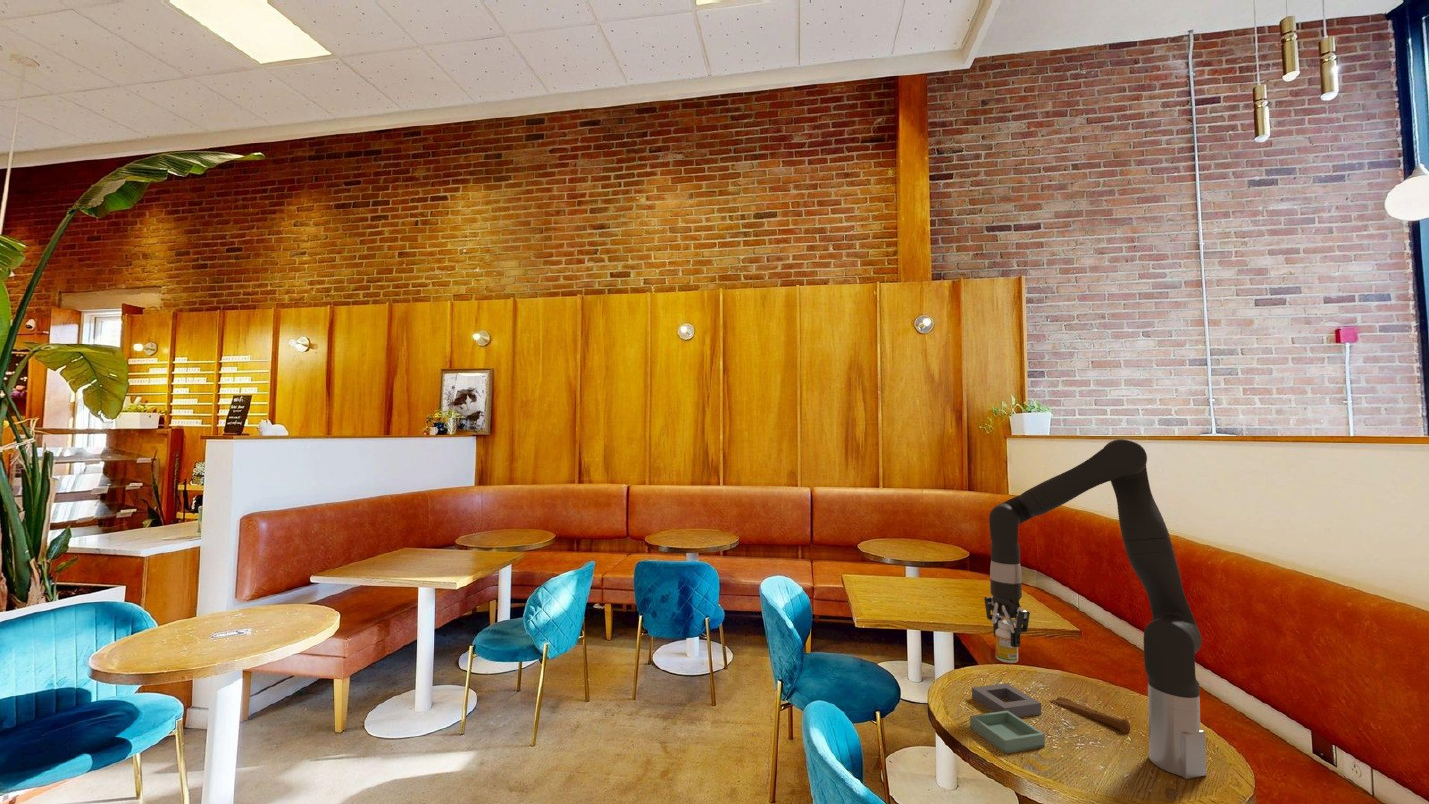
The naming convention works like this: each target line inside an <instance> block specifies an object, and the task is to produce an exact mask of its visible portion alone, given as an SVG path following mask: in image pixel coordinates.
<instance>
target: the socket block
mask: <svg viewBox="0 0 1429 804" xmlns="http://www.w3.org/2000/svg"><path fill="white" fill-rule="evenodd" d="M971 699H972V700H974V701H975V702H977V703H978V704H980V705H981V706H983V707H984V708H986V709H987V710H989V711H990V712H991V713H993V712H1000V711H1009V712H1011V713H1012V714H1014V715H1015V716H1017V717H1018V718H1020V719H1022V718H1027V717H1032V716H1034V715H1035V716H1039V715H1042V702H1040V701H1039V700H1036V699H1035V698H1033V697H1031V696H1030V695H1028V694H1027V693H1025V692H1023V691H1021V690H1019V689H1018V688H1016V687H1014V686H1012V685H1010V684H1009V683H1007V682H1005V683H997V684H990V685H983V686H982V685H981V686H976V687H975V686H974V687H971ZM1003 700H1007V701H1008V702H1004V701H1003Z"/></svg>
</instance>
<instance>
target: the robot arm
mask: <svg viewBox="0 0 1429 804" xmlns="http://www.w3.org/2000/svg"><path fill="white" fill-rule="evenodd" d="M1147 462H1148V455H1147V452H1146V450H1145V448H1144V447H1143V446H1142V445H1141V444H1139V443H1138V442H1136V441H1134V440H1132V439H1127V438H1118V439H1114V440H1111V441H1109V442H1108V443H1107V444H1106V445H1104V447H1103V448H1102V449H1100V450H1099V451H1098V452H1096V453H1095V454H1094V455H1092V456H1091V457H1090V458H1087V459H1086V460H1085V461H1083V462H1081V463H1080V464H1078V465H1076V466H1074V467H1072V468H1071V469H1069V470H1066V471H1065V472H1062V473H1060V474H1057V475H1055V476H1053V477H1051V478H1049V479H1047V480H1044V481H1042V482H1041V483H1038V484H1037V485H1034V486H1032V487H1031V488H1029V489H1027V490H1025V491H1024V492H1022V493H1021V494H1020V495H1016V496H1015V497H1012V498H1010V499H1008V500H1005V501H1003V502H1001V503H999V504H997V505H996V506H995V507H993V508H992V509H991V511H990V513H989V516H988V517H989V518H988V523H989V524H988V525H989V533H990V540H991V541H990V542H991V545H990V567H989V576H990V577H989V582H990V586H989V587H990V594H991V596H984V597H983V598H984V605H985V606H984V607H985V612H986V613H985V614H986V618H987V620H990V622H991V623H992V625H993V628H992V629H993V632H992V633H993V637H994V639H995V631H996V629H998V628H999V627H998V621H999V620H1004V618H1005V620H1006V621H1007V623H1008V624H1009V626H1010V629H1011V646H1012V647H1018V648H1019V647H1021V635H1022V633H1027V632H1028V628H1029V621H1030V615H1031V614H1030V611H1029V610H1028V609H1027V610H1026V609H1023V608H1021V604H1020V600H1021V599H1022V598H1023V597H1022V594H1023V593H1022V589H1023V588H1022V587H1023V585H1022V582H1023V580H1022V568H1021V548H1020V544H1019V525H1021V524H1023V523H1025V522H1026V521H1029V520H1030V519H1032V518H1034V517H1040V516H1042V515H1045V514H1047V513H1048V512H1050V511H1053V510H1055V509H1057V508H1058V507H1061V506H1062V505H1064V504H1066V503H1068V502H1070V501H1072V500H1074V499H1075V498H1077V497H1078V496H1081V495H1082V494H1084V493H1085V492H1088V491H1089V490H1091V489H1093V488H1096V487H1098V486H1100V485H1103V484H1106V483H1107V482H1110V483H1111V486H1112V489H1113V492H1114V495H1115V498H1116V505H1117V513H1118V521H1119V530H1120V532H1121V533H1120V534H1121V538H1122V542H1123V545H1124V549H1125V552H1126V556H1127V558H1128V561H1129V563H1130V565H1131V567H1132V569H1133V571H1134V572H1135V575H1136V576H1137V577H1138V579H1139V581H1140V583H1141V584H1142V586H1143V587H1144V589H1145V593H1146V594H1147V598H1148V602H1149V606H1150V611H1151V616H1152V617H1151V618H1152V621H1150V622H1148V624H1147V625H1146V626H1145V628H1144V632H1143V659H1144V670H1145V672H1146V675H1147V692H1148V693H1147V699H1148V701H1147V703H1148V704H1147V706H1148V707H1147V708H1148V713H1147V714H1148V756H1149V757H1148V758H1149V761H1151V763H1152V764H1154V765H1155V766H1156V767H1158V768H1160V769H1161V770H1163V771H1166V772H1169V773H1170V774H1173V775H1177V776H1179V777H1182V778H1184V779H1186V780H1189V779H1193V778H1199V777H1203V776H1204V777H1205V776H1207V748H1206V747H1207V745H1206V741H1207V740H1206V738H1207V737H1206V734H1207V733H1206V732H1205V730H1202V729H1201V703H1200V700H1201V697H1200V696H1201V692H1200V690H1201V689H1200V683H1199V681H1198V680H1197V675H1196V654H1197V652H1199V650H1200V649H1201V647H1202V646H1201V645H1202V635H1201V632H1200V628H1199V627H1198V625H1197V622H1196V619H1195V617H1194V615H1193V613H1192V610H1191V608H1190V606H1189V603H1188V600H1187V598H1186V595H1185V592H1184V591H1185V590H1184V588H1183V587H1184V586H1183V584H1182V583H1183V581H1182V577H1181V574H1180V570H1179V565H1178V563H1177V559H1176V554H1175V550H1174V547H1173V544H1172V540H1171V537H1170V533H1169V530H1168V528H1167V527H1168V526H1166V523H1165V521H1164V518H1163V516H1162V513H1161V511H1160V509H1159V506H1158V505H1157V503H1156V501H1155V498H1154V496H1153V493H1152V490H1151V487H1150V481H1149V476H1148V471H1147ZM1014 624H1015V627H1014Z"/></svg>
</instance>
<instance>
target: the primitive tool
mask: <svg viewBox="0 0 1429 804" xmlns="http://www.w3.org/2000/svg"><path fill="white" fill-rule="evenodd" d="M1055 699H1056V698H1055ZM1051 700H1052V701H1051ZM1051 700H1050V701H1051V702H1050V703H1052V702H1054V703H1056V704H1058V705H1057V706H1059V705H1061V706H1063V707H1062V708H1064V707H1065V708H1064V709H1066V708H1067V710H1069V709H1070V711H1072V712H1074V711H1075V712H1074V713H1077V712H1078V713H1077V714H1079V713H1080V715H1082V716H1084V717H1087V718H1089V719H1092V720H1093V721H1096V720H1097V722H1099V721H1100V722H1099V723H1103V724H1104V725H1106V726H1109V727H1111V728H1114V729H1117V730H1118V731H1120V732H1121V733H1123V734H1124V735H1125V734H1128V733H1130V732H1131V724H1130V722H1129V720H1128V719H1126V718H1124V719H1122V718H1118V717H1114V716H1111V715H1110V714H1109V715H1108V714H1106V713H1103V712H1101V711H1098V710H1097V709H1096V710H1095V709H1093V708H1090V707H1086V706H1084V705H1082V704H1080V703H1078V702H1076V701H1072V700H1071V699H1069V698H1066V697H1062V696H1059V697H1057V699H1056V700H1054V699H1051ZM1054 703H1053V704H1054ZM1056 704H1055V705H1056ZM1061 706H1060V707H1061Z"/></svg>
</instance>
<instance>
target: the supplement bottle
mask: <svg viewBox="0 0 1429 804" xmlns="http://www.w3.org/2000/svg"><path fill="white" fill-rule="evenodd" d="M998 627H999V628H998V629H996V631H995V638H994V640H995V641H994V642H995V647H994V648H995V658H996V660H999V661H1000V662H1003V663H1008V664H1014V663H1018V661H1019V647H1012V646H1011V629H1010V626H1009V624H1008V623H1007V621H1006V619H1003V620H999V621H998ZM1014 627H1015V628H1016V625H1015V623H1014Z"/></svg>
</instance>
